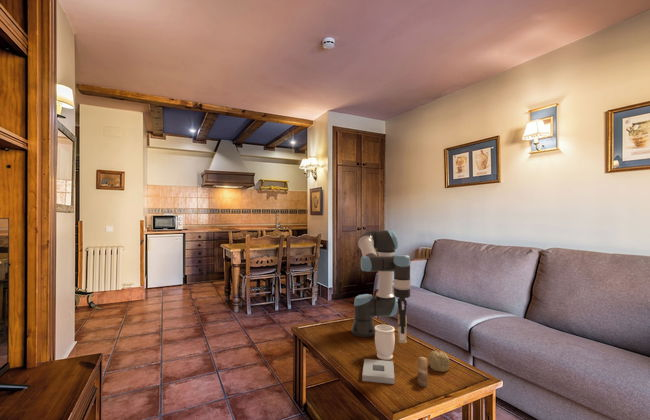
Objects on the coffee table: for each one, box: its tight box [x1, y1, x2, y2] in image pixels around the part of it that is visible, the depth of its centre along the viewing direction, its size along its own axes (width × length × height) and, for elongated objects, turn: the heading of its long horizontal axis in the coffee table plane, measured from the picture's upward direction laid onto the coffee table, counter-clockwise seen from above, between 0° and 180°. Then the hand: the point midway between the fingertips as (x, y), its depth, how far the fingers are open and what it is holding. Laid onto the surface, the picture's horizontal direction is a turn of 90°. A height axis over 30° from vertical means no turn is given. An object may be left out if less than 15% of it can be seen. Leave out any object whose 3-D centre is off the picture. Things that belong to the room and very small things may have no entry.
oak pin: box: [417, 356, 428, 373], centre depth 140 cm, size 4×4×8 cm
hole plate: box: [361, 358, 395, 385], centre depth 142 cm, size 16×14×2 cm
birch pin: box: [397, 313, 408, 344], centre depth 143 cm, size 4×4×12 cm
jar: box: [374, 324, 396, 361], centre depth 160 cm, size 11×10×15 cm
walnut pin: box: [417, 370, 429, 388], centre depth 133 cm, size 4×4×5 cm
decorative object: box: [428, 350, 450, 373], centre depth 148 cm, size 9×10×10 cm
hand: (402, 337), depth 143 cm, fingers closed on birch pin, 4 cm apart
